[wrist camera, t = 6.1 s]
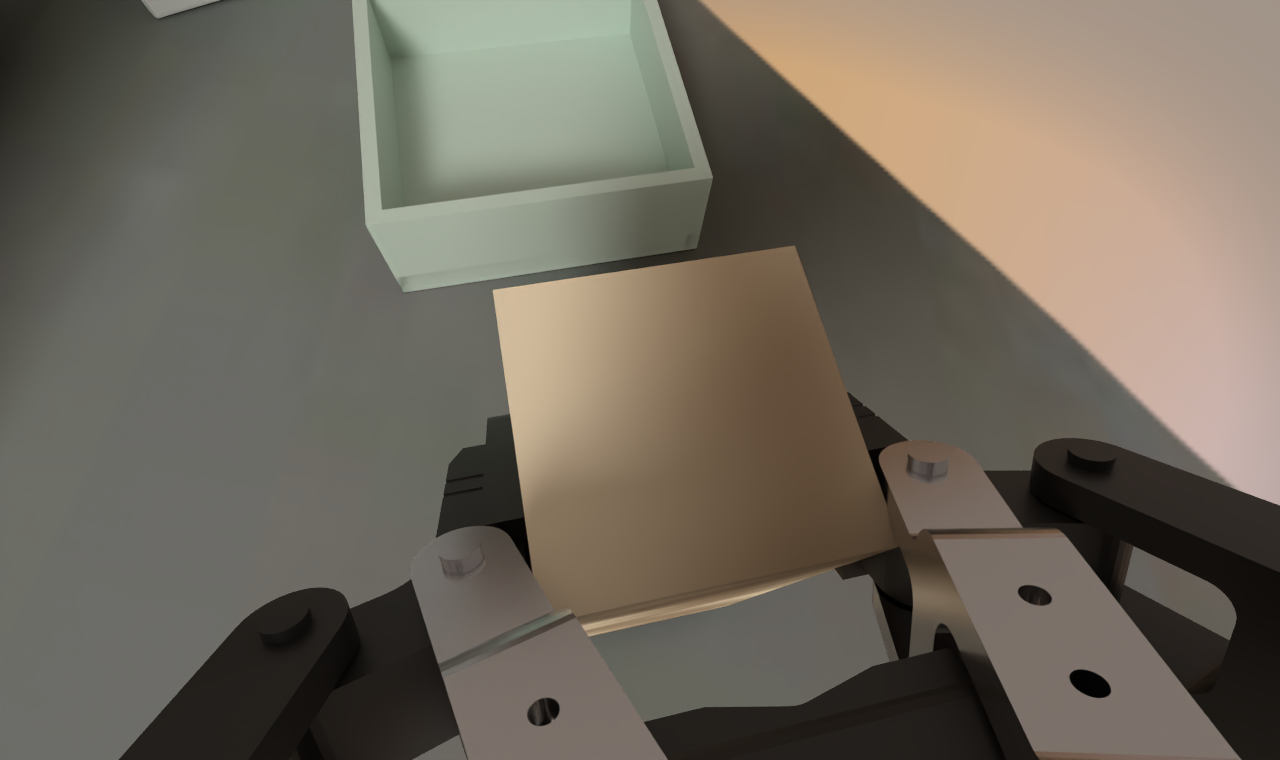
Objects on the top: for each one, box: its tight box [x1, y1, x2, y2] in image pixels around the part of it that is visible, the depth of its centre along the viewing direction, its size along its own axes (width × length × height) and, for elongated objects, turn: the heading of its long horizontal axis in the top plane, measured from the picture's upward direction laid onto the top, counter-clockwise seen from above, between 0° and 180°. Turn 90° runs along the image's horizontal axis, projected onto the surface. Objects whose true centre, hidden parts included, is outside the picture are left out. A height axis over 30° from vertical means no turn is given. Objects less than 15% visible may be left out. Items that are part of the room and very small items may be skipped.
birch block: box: [493, 246, 899, 636], centre depth 14 cm, size 4×4×12 cm
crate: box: [352, 0, 713, 292], centre depth 24 cm, size 11×11×4 cm
